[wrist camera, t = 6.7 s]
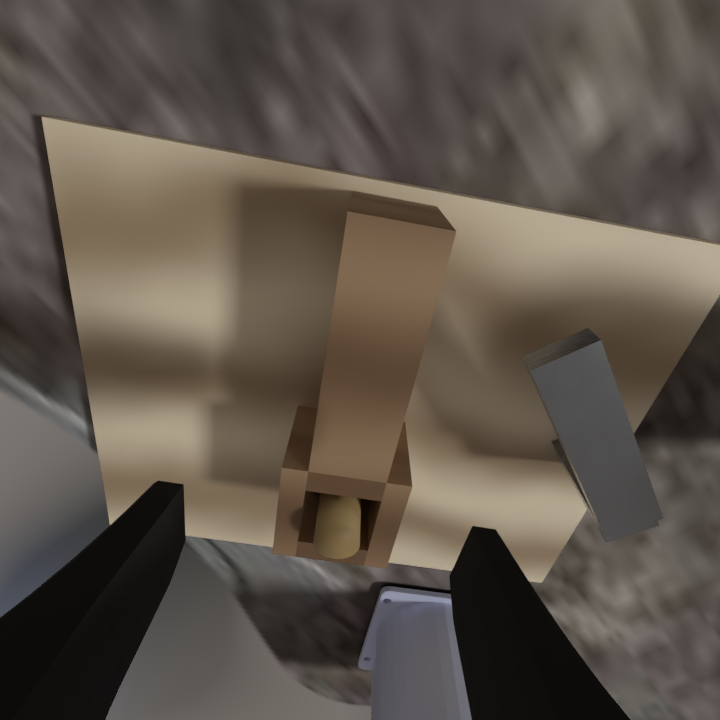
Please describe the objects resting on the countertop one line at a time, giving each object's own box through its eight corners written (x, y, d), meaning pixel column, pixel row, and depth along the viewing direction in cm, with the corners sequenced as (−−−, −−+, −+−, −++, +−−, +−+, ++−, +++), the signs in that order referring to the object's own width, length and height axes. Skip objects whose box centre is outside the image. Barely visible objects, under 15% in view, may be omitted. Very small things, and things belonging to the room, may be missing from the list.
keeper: (486, 302, 17) (529, 371, 12) (535, 278, 16) (601, 340, 12) (561, 462, 21) (615, 560, 16) (602, 447, 20) (672, 543, 16)
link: (384, 498, 22) (386, 568, 19) (288, 484, 22) (272, 553, 18) (464, 211, 15) (492, 237, 12) (324, 185, 15) (310, 204, 11)
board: (537, 570, 26) (577, 679, 21) (117, 513, 24) (50, 616, 19) (731, 244, 16) (894, 299, 11) (57, 116, 15) (-109, 113, 10)
